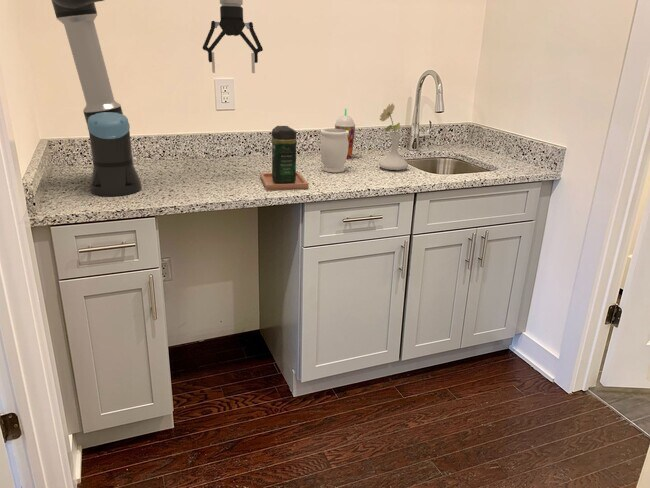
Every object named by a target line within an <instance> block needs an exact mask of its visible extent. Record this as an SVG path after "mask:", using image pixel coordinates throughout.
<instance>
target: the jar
mask: <svg viewBox="0 0 650 488" xmlns="http://www.w3.org/2000/svg"><path fill="white" fill-rule="evenodd" d="M320 134H321V137H320V143H319V144H320V145H319V146H320V147H319V148H320V150H319V152H320V156H321V157H320V158H321V163H322V164H323V166H322V171H324V172H327V173H331V174H332V173H333V174H335V173H336V174H337V173H343V172H344V171H345V167H344V166H345V164H346V162H347V160H348V159H347V154H348V137H347V135H348V134H349V131H347V130H343V129H335V128H323V129H320Z"/></svg>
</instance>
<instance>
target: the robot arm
mask: <svg viewBox="0 0 650 488" xmlns="http://www.w3.org/2000/svg"><path fill="white" fill-rule="evenodd" d="M104 1H105V0H51V4H52V7H53V10H54V14H55V18H56V20H58V21H59V22H60V23H62V24H63V27H64V30H65V33H66V36H67V40H68V44H69V47H70V51H71V55H72V58H73V62H74V65H75V69H76V72H77V76H78V79H79V82H80V86H81V89H82V92H83V96H84V100H85V107H84V108H83V109H82V110H83V112H82V113H83V115H84V119H85V122H86V125H87V131H88V136H89V142H90V150H91V157H92V158H91V159H92V166H93V169H92V175H91V179H90V183H89V188H90V192H91V193H92V194H93V195H96V196H104V197H117V196H118V197H119V196H126V195H131V194H134V193H138V192H140V191H141V190H142V182H141V179H140V177H139V174H138V173H137V170H136V168H135V166H134V160H133V152H132V142H131V134H130V133H131V132H130V128H131V127H130V123H129V119H128V117H127V116H126V115H124V113H123V110H122V106H121V103H119V102H118V101H116V100H115V98H114V94H113V89H112V85H111V82H110V78H109V74H108V71H107V67H106V63H105V59H104V55H103V52H102V48H101V43H100V39H99V36H98V32H97V29H96V25H95V20H96V18H97V16H98V12H97V7H96V4H95V3H98V2H104ZM243 1H244V0H219V4H220V5H221V6H220V7H219V14H220V16H219V17H220V18H219V20H220V21H215V20H211V22H210V29H209V30H208V33H207V36H206V38H205V40H204V43H203V45H202V50H203V51H206V52H207V58H208V62H209V63H211V71H212V74H215V73H216V66H215V64H216V62H215V52H213V51H214V49H215V48H216V47H217V45H218V44H219V43H220V41H221V40H222V39H223V38H224V36H225V35H226V36H227V37H228V36H230V37H231V36H233V37H238V36H240V37H241V38H242V40H243V41H244V42H245V44H246V45H247V46H248V47H249V49H250V50H251V51H252V52H251V54H250V55H251V73H252V74H256V68H255V67H256V66H255V64H257V63H258V62H259V60H258V59H259V58H258V57H259V55H258V54H259V53H260V52H263V51H264V48H263V46H262V44H261V42H260V40H259V38H258V35H257V33H256V32H255V28H254V24H253V22H252V21H249V22H245V21H244V8H243V7H242V6H243V4H244V2H243ZM218 26H219V27H220V30H221V31H220V33H219V34H218V36H217V37H216V38H215V40H214V41H213V42H212V44H210V41H211V39H212V38H213V37H212V36H213V34H214V33H215V30H216V29H217V28H218ZM244 28H246V29H247V30H249V33H250V35H251V37H252V39H253V41H254V43H255V45H256V46H255V45H254V44H253V43H252V41H251V40H250V39H249V37H248V36H247V35H246V34H245V33H244V31H243V30H244ZM209 44H210V46H209ZM256 47H257V48H256Z"/></svg>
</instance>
